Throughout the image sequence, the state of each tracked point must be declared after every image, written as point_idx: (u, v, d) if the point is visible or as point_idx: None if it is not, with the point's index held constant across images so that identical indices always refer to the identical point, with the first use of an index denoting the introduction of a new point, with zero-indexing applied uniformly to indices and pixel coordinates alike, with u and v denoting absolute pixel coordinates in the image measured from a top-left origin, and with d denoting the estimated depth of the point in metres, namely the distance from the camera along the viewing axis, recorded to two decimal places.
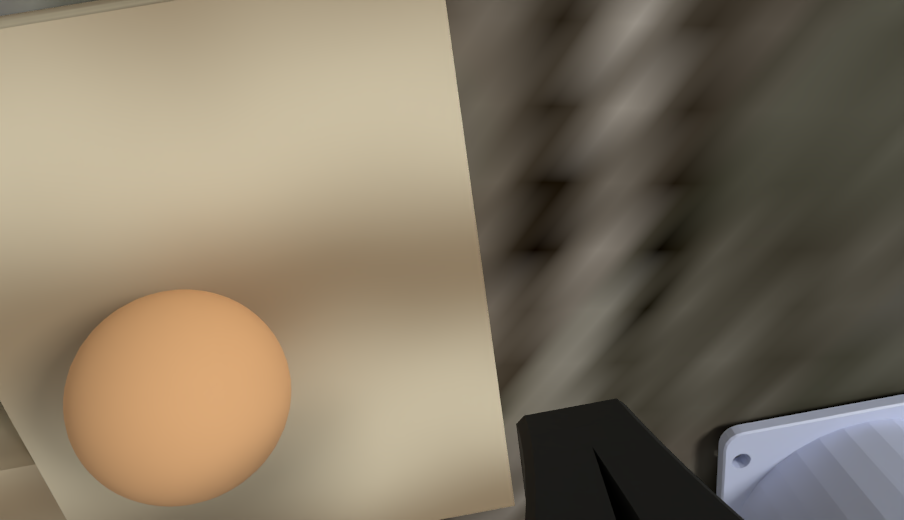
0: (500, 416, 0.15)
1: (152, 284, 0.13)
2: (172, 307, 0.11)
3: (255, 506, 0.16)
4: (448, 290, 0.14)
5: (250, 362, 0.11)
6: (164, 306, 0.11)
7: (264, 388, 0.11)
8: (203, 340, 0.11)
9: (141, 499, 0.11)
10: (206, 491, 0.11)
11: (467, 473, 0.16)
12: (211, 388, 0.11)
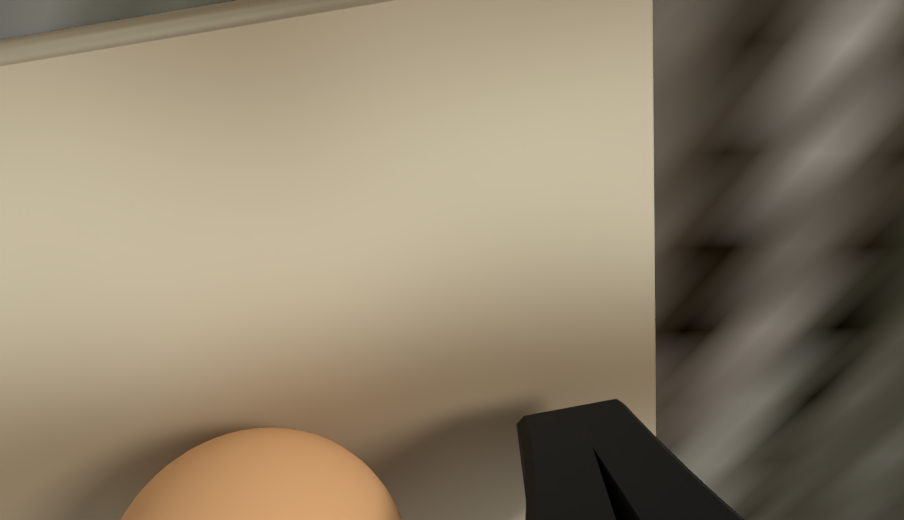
0: None
1: (211, 410, 0.09)
2: (254, 475, 0.08)
3: None
4: None
5: None
6: (243, 472, 0.08)
7: None
8: None
9: None
10: None
11: None
12: None
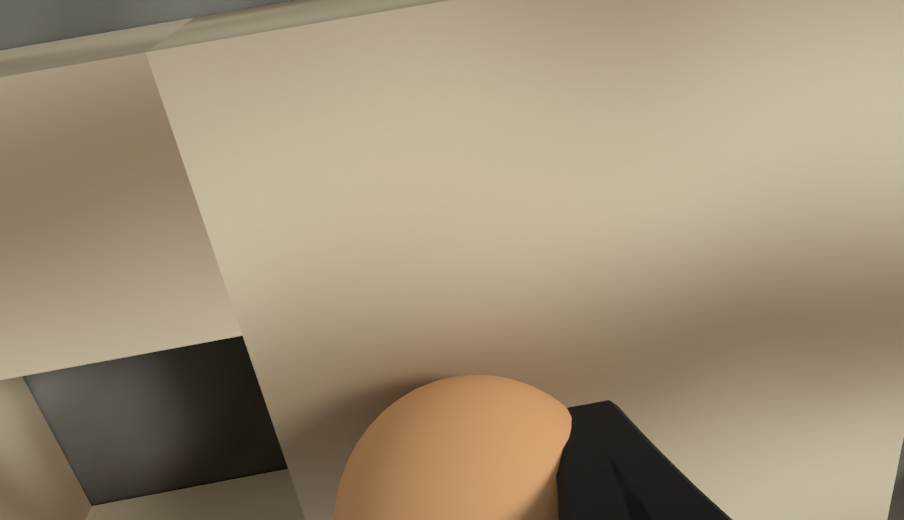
0: (887, 499, 0.12)
1: (519, 347, 0.10)
2: (479, 426, 0.08)
3: None
4: (878, 348, 0.11)
5: None
6: (474, 418, 0.08)
7: None
8: (481, 503, 0.07)
9: None
10: None
11: None
12: None
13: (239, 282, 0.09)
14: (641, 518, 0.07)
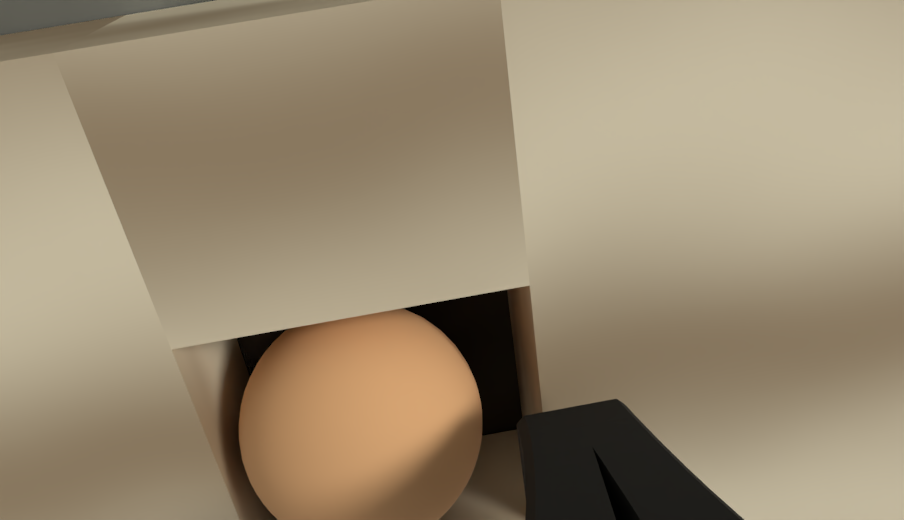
0: None
1: (797, 301, 0.10)
2: (360, 316, 0.10)
3: None
4: None
5: (453, 345, 0.11)
6: (351, 317, 0.10)
7: (469, 368, 0.11)
8: (418, 333, 0.10)
9: None
10: (460, 494, 0.10)
11: None
12: (453, 375, 0.10)
13: (538, 228, 0.09)
14: None
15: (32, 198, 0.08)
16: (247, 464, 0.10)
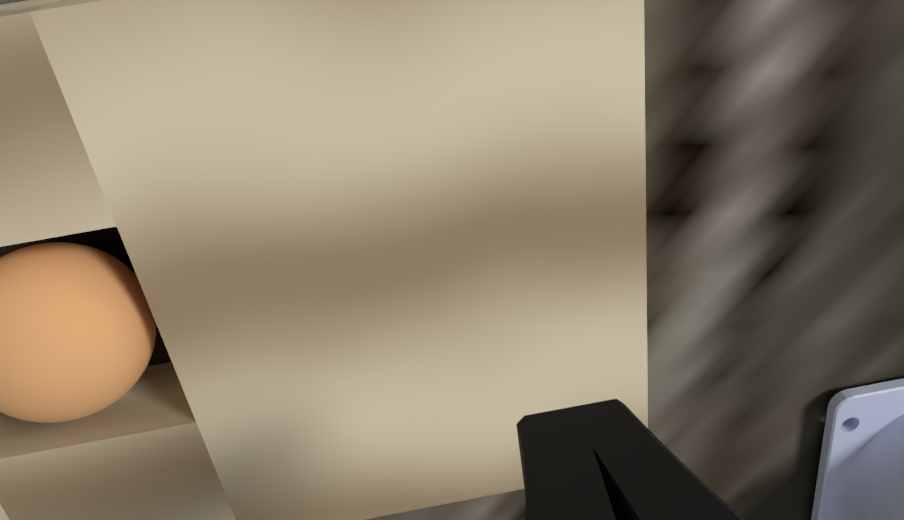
0: (645, 374, 0.16)
1: (330, 240, 0.13)
2: (41, 248, 0.14)
3: (401, 465, 0.16)
4: (611, 247, 0.14)
5: (124, 266, 0.14)
6: (33, 249, 0.14)
7: None
8: (88, 256, 0.14)
9: (89, 396, 0.13)
10: (136, 369, 0.14)
11: None
12: (116, 282, 0.14)
13: (111, 184, 0.12)
14: None
15: None
16: None
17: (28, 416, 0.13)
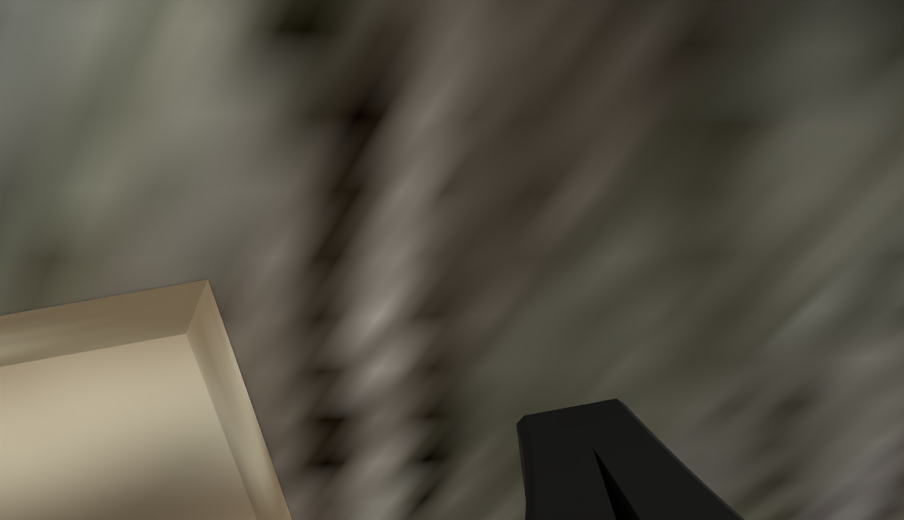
0: None
1: None
2: None
3: None
4: None
5: None
6: None
7: None
8: None
9: None
10: None
11: None
12: None
13: None
14: None
15: None
16: None
17: None
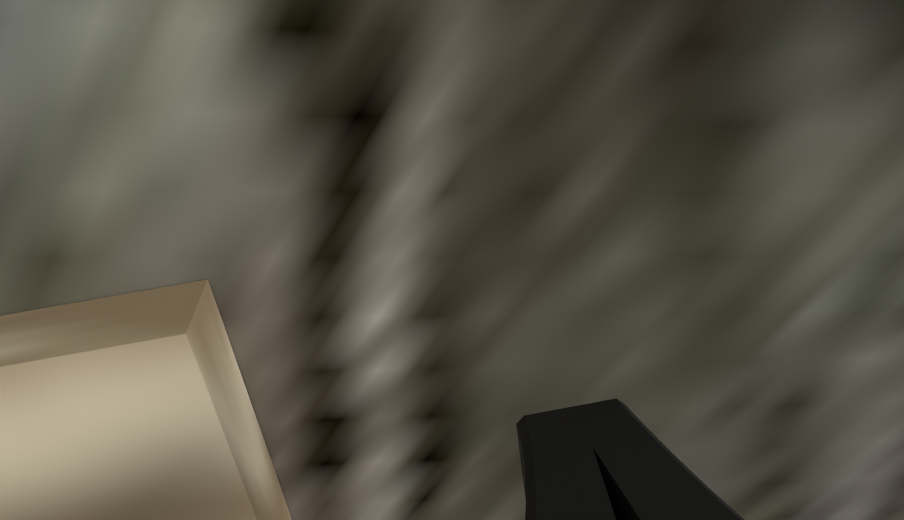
0: None
1: None
2: None
3: None
4: None
5: None
6: None
7: None
8: None
9: None
10: None
11: None
12: None
13: None
14: None
15: None
16: None
17: None
